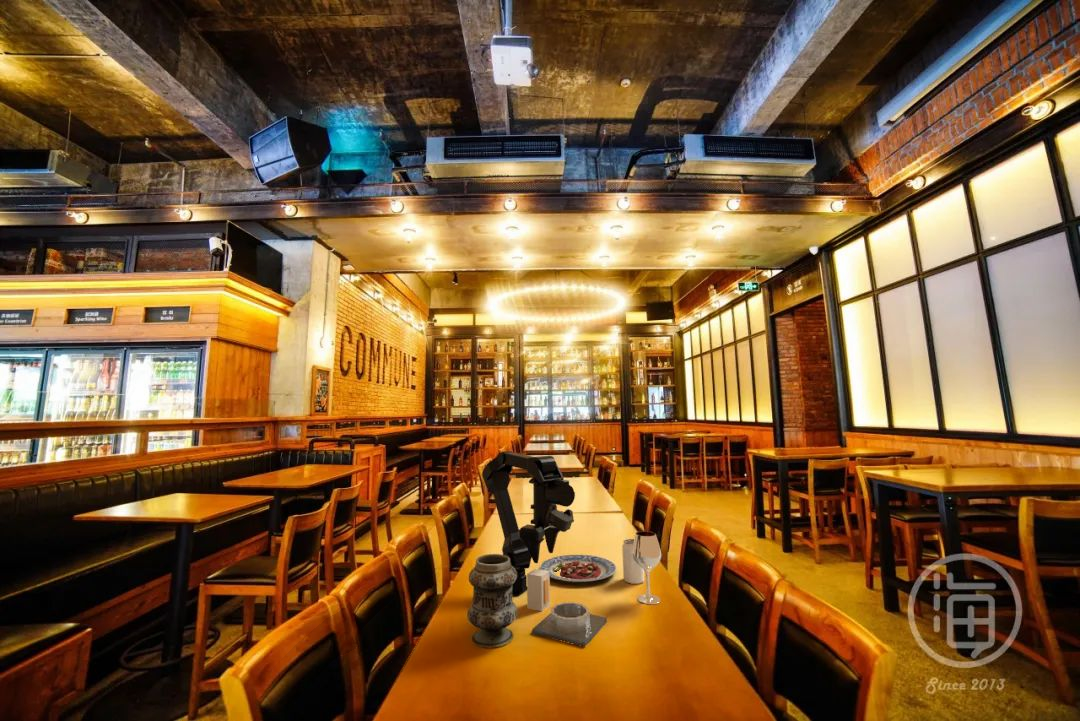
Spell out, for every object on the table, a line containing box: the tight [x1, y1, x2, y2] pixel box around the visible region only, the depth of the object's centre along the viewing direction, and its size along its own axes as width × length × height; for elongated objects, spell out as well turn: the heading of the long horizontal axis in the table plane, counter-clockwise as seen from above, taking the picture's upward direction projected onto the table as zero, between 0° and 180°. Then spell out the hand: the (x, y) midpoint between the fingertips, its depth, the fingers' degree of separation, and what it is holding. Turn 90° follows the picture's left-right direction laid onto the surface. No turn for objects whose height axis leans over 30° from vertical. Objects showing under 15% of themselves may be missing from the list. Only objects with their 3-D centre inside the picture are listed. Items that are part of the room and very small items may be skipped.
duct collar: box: [531, 601, 608, 648], centre depth 107 cm, size 14×14×4 cm
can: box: [621, 538, 645, 585], centre depth 137 cm, size 6×6×12 cm
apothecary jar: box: [466, 553, 518, 649], centre depth 104 cm, size 12×12×18 cm
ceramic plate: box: [539, 554, 617, 583], centre depth 145 cm, size 26×26×3 cm
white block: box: [526, 568, 551, 612], centre depth 120 cm, size 5×5×9 cm
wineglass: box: [632, 530, 662, 605], centre depth 123 cm, size 8×8×18 cm
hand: (543, 557), depth 121 cm, fingers open, 9 cm apart
